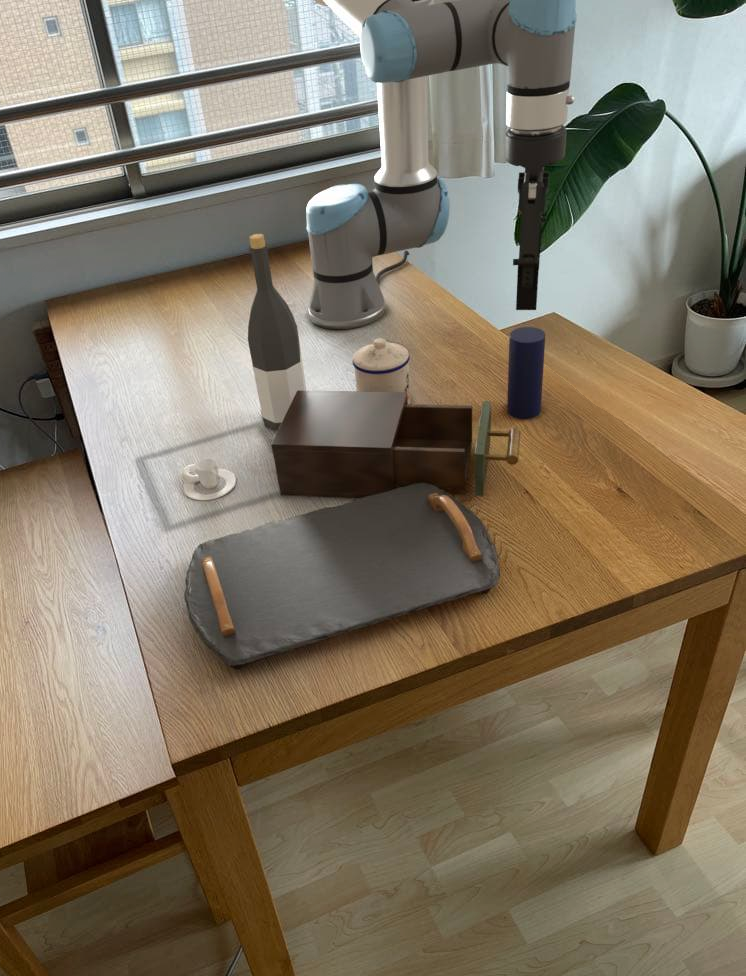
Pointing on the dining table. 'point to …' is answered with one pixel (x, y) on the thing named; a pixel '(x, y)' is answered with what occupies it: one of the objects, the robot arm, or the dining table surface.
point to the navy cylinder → (525, 372)
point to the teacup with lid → (382, 368)
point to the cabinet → (338, 443)
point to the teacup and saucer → (206, 479)
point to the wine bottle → (273, 342)
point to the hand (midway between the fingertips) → (528, 288)
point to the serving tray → (336, 571)
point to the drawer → (446, 446)
